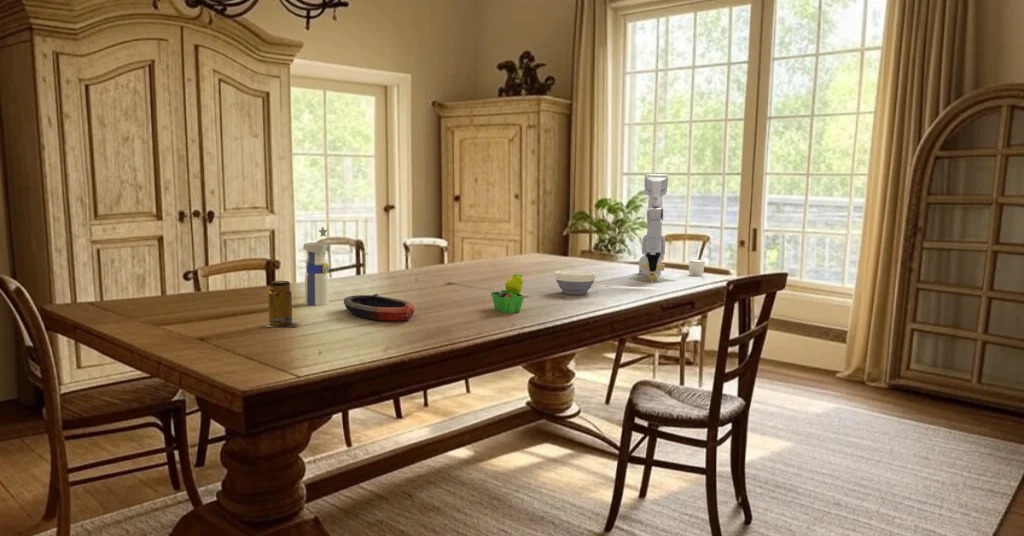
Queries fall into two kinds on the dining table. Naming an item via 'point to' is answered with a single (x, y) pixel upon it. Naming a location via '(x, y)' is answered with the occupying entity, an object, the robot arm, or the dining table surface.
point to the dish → (379, 307)
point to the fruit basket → (509, 296)
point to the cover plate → (652, 280)
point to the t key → (652, 275)
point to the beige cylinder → (696, 267)
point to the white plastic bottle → (316, 273)
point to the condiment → (280, 305)
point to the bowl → (574, 281)
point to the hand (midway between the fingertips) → (652, 270)
